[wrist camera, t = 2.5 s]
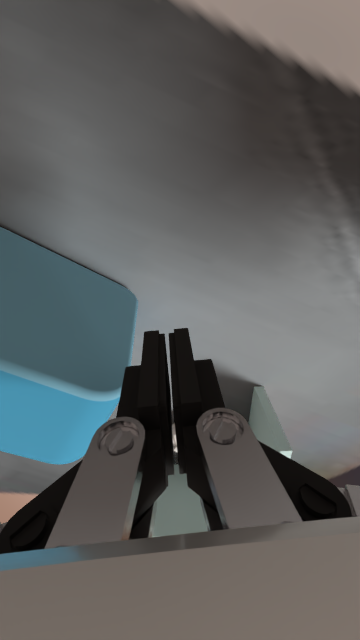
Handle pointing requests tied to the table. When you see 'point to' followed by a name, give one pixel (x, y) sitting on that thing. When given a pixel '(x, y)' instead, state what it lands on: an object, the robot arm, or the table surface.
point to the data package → (58, 351)
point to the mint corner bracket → (184, 504)
